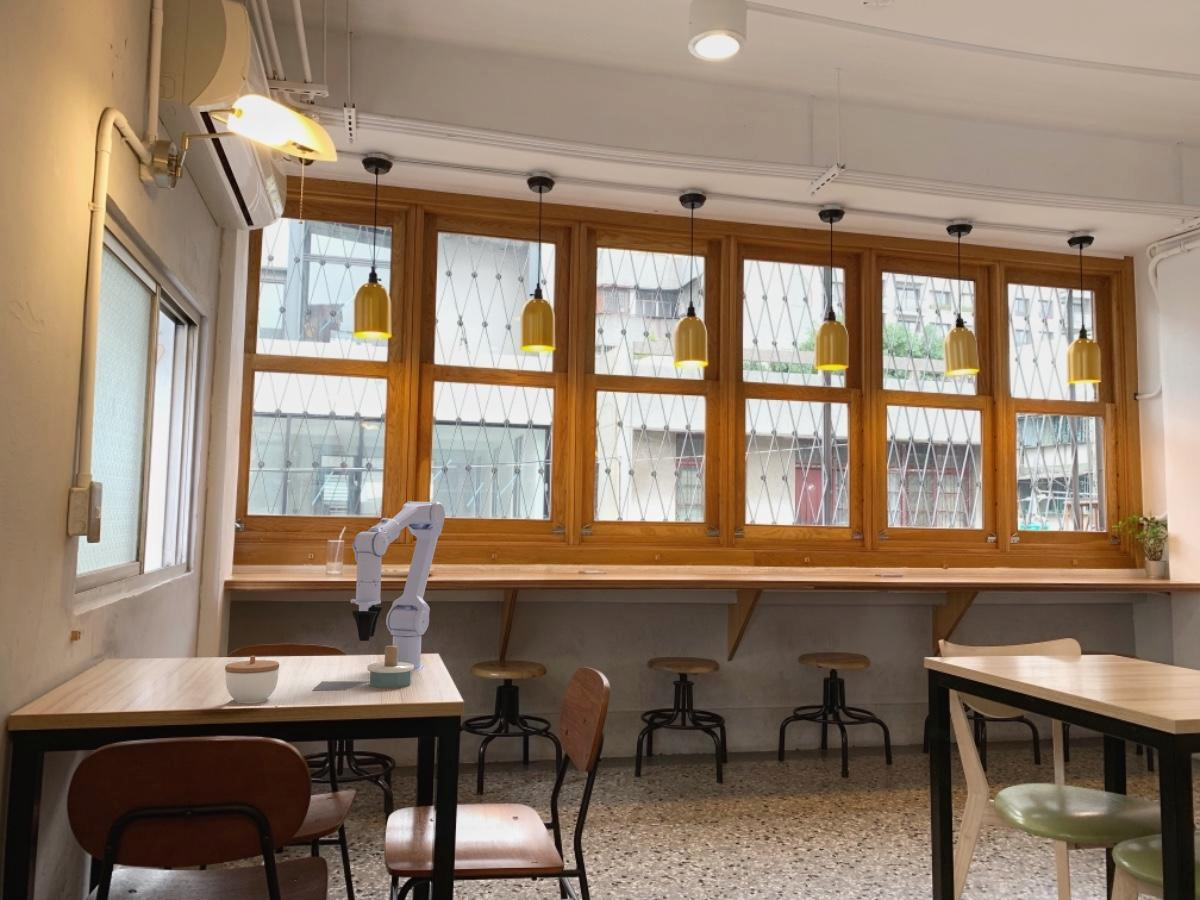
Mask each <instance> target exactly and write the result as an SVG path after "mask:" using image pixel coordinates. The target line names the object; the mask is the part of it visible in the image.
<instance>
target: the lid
mask: <svg viewBox="0 0 1200 900" xmlns="http://www.w3.org/2000/svg"><path fill="white" fill-rule="evenodd" d="M413 669H414V665H413V664H411V663H405V662H398V646H393V645H385V646H384V661H383V662H375V663H370V664H369V665H367V671H369V672H370V671H371V672H376V673H400V672H408V671H411V670H412V671H414V670H413Z"/></svg>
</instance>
